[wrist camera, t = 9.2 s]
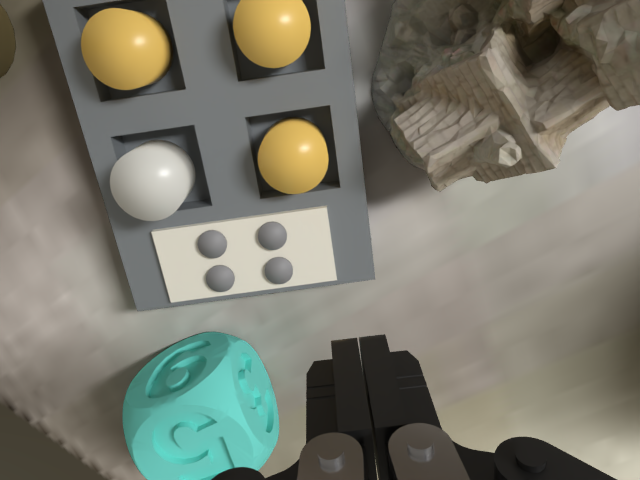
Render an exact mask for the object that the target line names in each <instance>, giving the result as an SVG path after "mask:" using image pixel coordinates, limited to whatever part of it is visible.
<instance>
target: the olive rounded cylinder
mask: <svg viewBox="0 0 640 480" xmlns="http://www.w3.org/2000/svg"><path fill="white" fill-rule="evenodd" d="M15 49H16V42H15V35H14V29H13V26H12V24H11V22H10V19H9V17H8V15H7V12H6V11H5V10H4V9H3V7H2V6H1V5H0V78H1V77H2V76H4V75H5V74H6V73H7V71H8V69H9V68H10V66H11V64H12V63H13V60H14V54H15Z"/></svg>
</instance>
